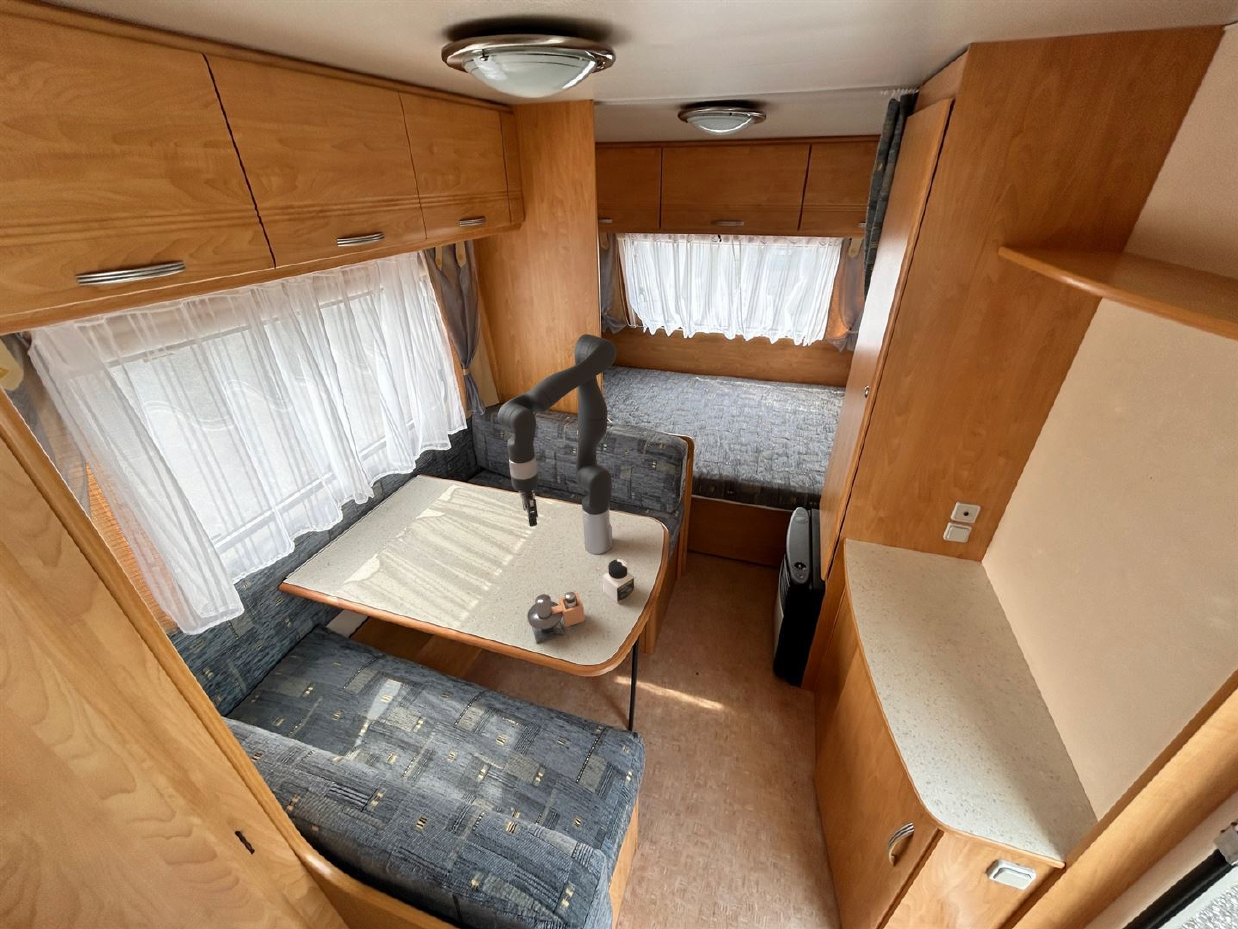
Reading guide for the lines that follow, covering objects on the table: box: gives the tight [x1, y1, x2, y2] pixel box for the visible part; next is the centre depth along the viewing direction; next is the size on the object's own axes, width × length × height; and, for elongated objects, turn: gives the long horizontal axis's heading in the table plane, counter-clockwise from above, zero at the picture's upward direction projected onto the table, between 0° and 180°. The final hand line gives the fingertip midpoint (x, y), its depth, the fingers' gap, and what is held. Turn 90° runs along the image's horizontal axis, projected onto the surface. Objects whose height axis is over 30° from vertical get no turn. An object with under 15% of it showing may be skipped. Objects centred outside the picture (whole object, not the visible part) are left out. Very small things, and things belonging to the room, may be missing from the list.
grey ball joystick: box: [527, 594, 564, 644], centre depth 149 cm, size 10×10×12 cm
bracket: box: [552, 592, 585, 627], centre depth 151 cm, size 9×6×6 cm, turn 111°
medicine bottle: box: [602, 558, 635, 604], centre depth 161 cm, size 7×7×12 cm
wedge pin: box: [564, 591, 578, 627], centre depth 151 cm, size 3×3×11 cm
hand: (530, 517), depth 152 cm, fingers open, 8 cm apart
